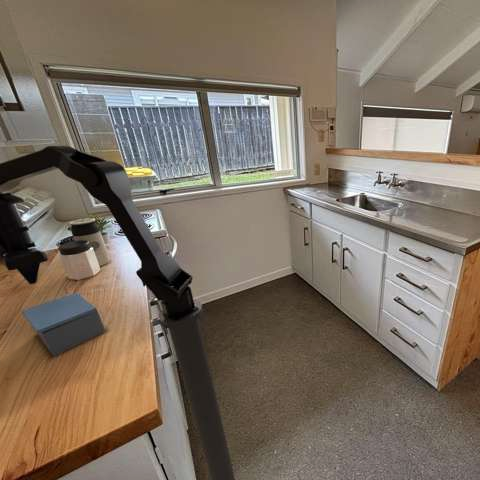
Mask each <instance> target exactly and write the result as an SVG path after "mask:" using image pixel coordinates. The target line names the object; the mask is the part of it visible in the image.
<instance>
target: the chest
mask: <svg viewBox="0 0 480 480" xmlns="http://www.w3.org/2000/svg"><path fill="white" fill-rule="evenodd" d="M103 333H106V329H105V328H104V325H103V322H102V319H101V317H100V314H99V311H98V310H97V311H95V312H92V313H89V314H87V315H84V316H82V317H79V318H77V319H74V320H72V321H69V322H67V323H64V324H62V325H59V326H57V327H54V328H52V329H49V330H47V331H44V332H42V333H39V334H37V336H38V337H39V339H40V340H41V341H42V343H43V344H44V345H45V347H46V348H47V350H48V351H49V352H50V353H51V355H52V356H53V357H56V356H59V355H60V354H63V353H65V352H66V351H69V350H70V349H72V348H75V347H77V346H79V345H81V344H83V343H85V342H87V341H89V340H91V339H93V338H95V337H97V336H99V335H102V334H103Z"/></svg>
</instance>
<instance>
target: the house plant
mask: <svg viewBox="0 0 480 480" xmlns="http://www.w3.org/2000/svg"><path fill="white" fill-rule="evenodd" d="M101 215H102V213H99V215H98V216H97V217H96V216H95V214H92V213H89V218H94V219H95V224H96V225H97V226H98V227H99V229H100V232H101V235H102V238H103V241H104V244H108V243H110V236H109V232H106V229H108V228H113V227H114V225H113V223H111V222H114V221H116V220H115V219H112V220H108V219H109V218H110V216H109V215H110V214H106V215H104V216H103V218H101V220H100V216H101ZM107 216H108V217H107ZM99 220H100V221H99ZM107 220H108V221H107ZM109 223H111V224H109ZM110 244H111V243H110ZM110 244H109V245H108V246H105V247H106V249H108V248H110Z"/></svg>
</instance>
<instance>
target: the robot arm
mask: <svg viewBox="0 0 480 480" xmlns="http://www.w3.org/2000/svg"><path fill="white" fill-rule="evenodd" d="M56 170H59V171H60V172H61V173H62V174H64V176H66V178H68V179H70V180H74V181H75V182H78V183H80V184H81V185H82V186H83V188H84V189H85V190H86V191H87V192H88V193H89V195H90V196H91V197H93V198H94V199H95V200H97V201H99V202H100V203H102V204H103V205H105V206H106V207H107V208H108V210H109V212H110V213H111V215H112V217H113V219H114V220H115V221H116V223H117V225H118V226H119V228H120V230H121V231H122V233H123V235H124V236H125V238H126V239H127V241H128V243H129V244H130V246H131V247H132V249H133V250H134V252H135V254H136V255H137V257H138V259H139V261H140V268H139V269H137V270H136V271H135V273H136V275H137V277H138V279H140V280H141V283H142V286H143V287H146V288H147V289H148V290H149V291H150V292H151V293H152V294H153V296H154V297H155V299H157V301H159V302H160V306H161V309H162V310H163V314H164V315H165V316H167V317H168V318H171V319H172V320H174V321H177V320H179V319H181V318H183V317H184V316H186V315H188V314H190V313H192V312H193V311H195V310H197V309H198V306H196V305H194V301H193V300H194V297H193V293H192V287H191V286H190V285H191V284H192V283H193V277H194V276H193V275H191V274H190V273H188V272H187V271H186V270H184V269H183V268H182V267H180V265H179V264H178V262H177V261H176V260H175V259H174V258H173V256H170V255H168V254H167V253H165V252H164V251H163V250H162V249H161V247H160V245H159V243H158V241H157V240H156V238H155V237H154V235H153V233H152V231H151V229H150V227H149V226H148V224H147V222H146V220H145V219H144V217H143V216H142V214H141V212H140V210H139V209H138V207H137V205H136V203H135V202H134V200H133V197H132V183H131V181H130V178H129V175H128V173H127V171H126V169H125V167H124V166H123V165H122V164H120V163H117V162H115V161H112V160H106V159H104V158H101V157H100V156H99V157H98V156H95V155H92V154H89V153H86V152H83V151H81V150H78V149H76V148H74V147H72V146H69V145H47V146H46V147H43V148H42V149H40V150H36V151H34V152H31V153H28V154H24V155H22V156H18V157H16V158H13V159H12V158H11V159H9V160H7V161H4V162H0V256H3V257H2V258H0V262H1V263H2V264H3V266H4V267H5V268H6V269H7V270H8V271H15V270H17V271H18V272H19V274H20V275H21V276H22V277H23V278H24V280H25V281H27V283H28V284H29V285H34V284H36V283H37V281H38V276H39V270H40V266H41V263H44V262H48V261H49V258H48V256H47V253H46V252H45V251H44V250H42V249H40V248H37V245H36V243H35V242H34V241H33V240H32V237H31V236H30V233H29V227H28V226H27V225H26V224H25V222H24V220H23V218H22V216H21V213H20V211H19V208H18V206H17V204H20V203H24V202H25V200H24V198H22V197H20V196H18V195H15V194H14V193H12V192H10V191H12V190H13V189H16V188H17V187H18V186H20V184H21V183H22V182H23V181H25V180H27V179H30V178H33V177H37V176H39V175H42V174H46V173H49V172H52V171H56ZM162 310H161V311H162Z"/></svg>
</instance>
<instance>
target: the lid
mask: <svg viewBox="0 0 480 480" xmlns="http://www.w3.org/2000/svg"><path fill="white" fill-rule="evenodd" d="M95 311H98V310H97V307H96V306H94V305H93V304H92V303H91V302H89V301H88V299H86V298H85V297H83V296H82V295H81V294H80V293H79V292H77V291H76V292H73V293H70V294H66V295H64V296H61V297H57V298H54V299H52V300H49V301H45V302H42V303H40V304H36V305H34V306H30V307H28V308H24V309H22V310H21V313H22V315H23V316H24V317H25V319H26V320H27V322H28V323H29V324H30V326H31V327H32V328H33V330H34V332H36V334H37V335H38V334H39V333H42V332H44V331H47V330H49V329H52V328H54V327H57V326H59V325H62V324H64V323H67V322H69V321H72V320H74V319H77V318H79V317H82V316H84V315H87V314H89V313H92V312H95Z"/></svg>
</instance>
